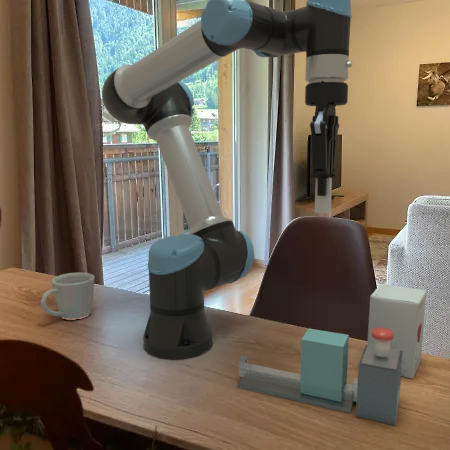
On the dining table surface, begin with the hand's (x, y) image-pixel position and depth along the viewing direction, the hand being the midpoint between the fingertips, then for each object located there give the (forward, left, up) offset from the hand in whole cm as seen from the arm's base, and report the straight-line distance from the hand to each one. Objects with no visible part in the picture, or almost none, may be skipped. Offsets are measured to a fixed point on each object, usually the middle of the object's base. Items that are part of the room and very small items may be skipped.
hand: (322, 212), depth 88 cm
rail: (-1, -12, -30) cm, 33 cm away
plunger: (+13, -12, -21) cm, 27 cm away
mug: (-63, -2, -31) cm, 70 cm away
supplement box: (+14, +5, -31) cm, 34 cm away
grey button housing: (+13, -12, -30) cm, 35 cm away
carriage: (+4, -12, -30) cm, 33 cm away
